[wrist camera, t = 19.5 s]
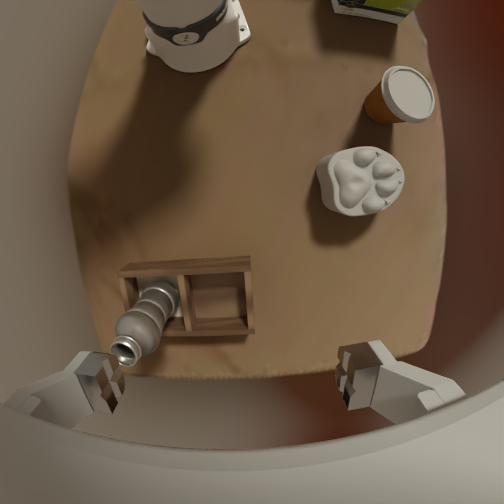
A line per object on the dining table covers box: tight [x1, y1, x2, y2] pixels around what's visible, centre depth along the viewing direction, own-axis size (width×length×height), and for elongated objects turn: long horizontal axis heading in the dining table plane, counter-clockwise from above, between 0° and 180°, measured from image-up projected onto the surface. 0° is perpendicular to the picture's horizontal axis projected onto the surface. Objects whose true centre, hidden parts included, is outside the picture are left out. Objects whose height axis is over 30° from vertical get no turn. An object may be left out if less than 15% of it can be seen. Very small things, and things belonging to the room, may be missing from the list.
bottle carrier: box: [117, 256, 255, 336], centre depth 47 cm, size 12×22×6 cm, turn 93°
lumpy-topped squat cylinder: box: [316, 146, 404, 216], centre depth 42 cm, size 10×13×9 cm
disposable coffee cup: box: [364, 66, 435, 124], centre depth 37 cm, size 10×10×12 cm
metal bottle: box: [110, 280, 179, 367], centre depth 40 cm, size 6×7×20 cm
